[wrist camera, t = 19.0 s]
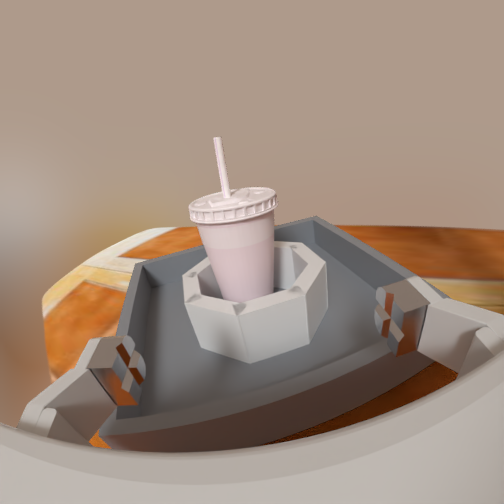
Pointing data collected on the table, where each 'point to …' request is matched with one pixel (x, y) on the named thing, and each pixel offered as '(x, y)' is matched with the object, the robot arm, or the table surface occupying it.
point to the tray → (257, 345)
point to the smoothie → (238, 235)
